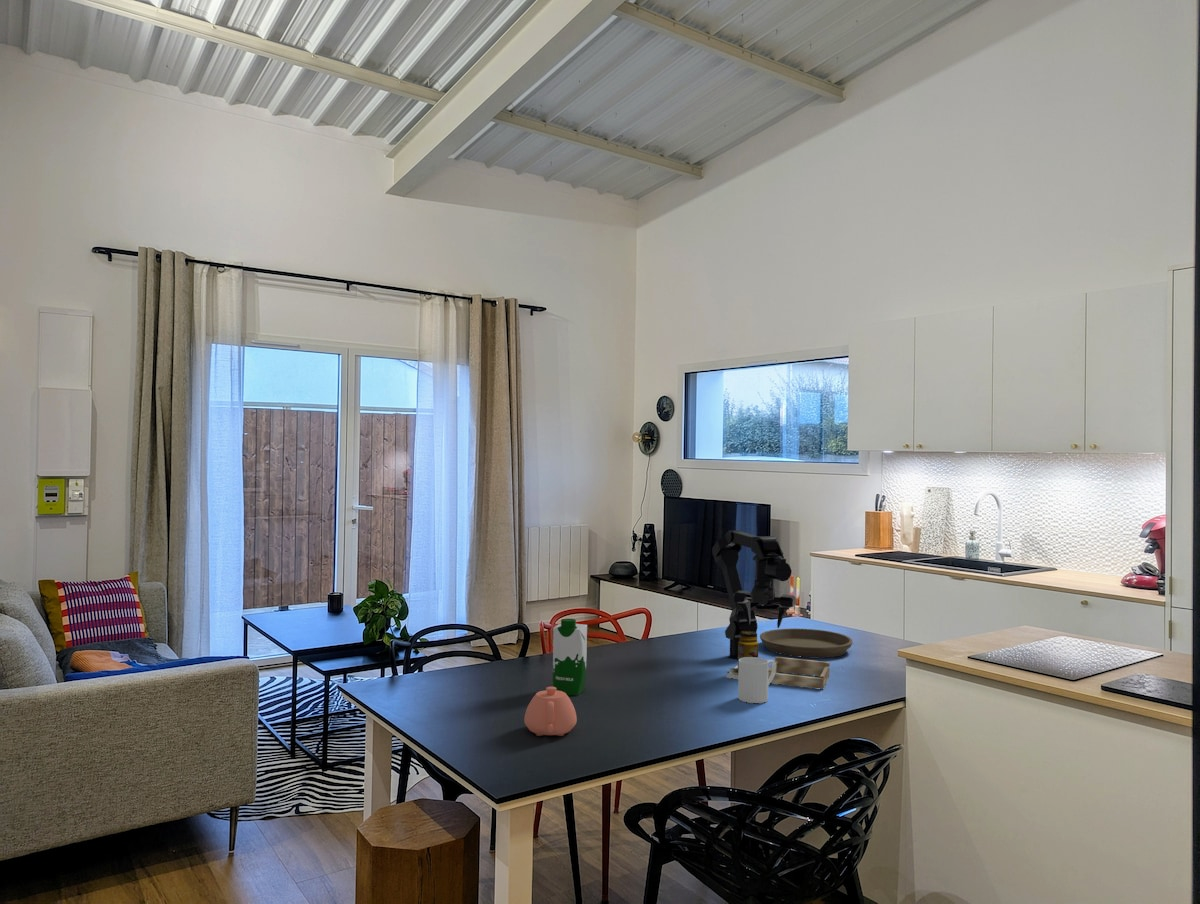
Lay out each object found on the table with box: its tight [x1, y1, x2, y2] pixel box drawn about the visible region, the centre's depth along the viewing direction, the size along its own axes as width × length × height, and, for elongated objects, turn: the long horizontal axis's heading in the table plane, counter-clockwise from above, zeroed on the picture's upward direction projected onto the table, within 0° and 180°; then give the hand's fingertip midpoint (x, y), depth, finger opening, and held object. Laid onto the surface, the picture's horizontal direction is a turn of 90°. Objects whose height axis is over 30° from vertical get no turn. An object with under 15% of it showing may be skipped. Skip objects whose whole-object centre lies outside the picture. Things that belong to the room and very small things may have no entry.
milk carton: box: [552, 618, 588, 697], centre depth 224 cm, size 9×9×20 cm
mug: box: [737, 657, 776, 704], centre depth 220 cm, size 12×8×10 cm, turn 125°
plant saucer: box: [759, 628, 854, 658], centre depth 281 cm, size 31×31×5 cm
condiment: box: [728, 631, 759, 675], centre depth 246 cm, size 7×8×12 cm
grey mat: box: [725, 665, 739, 680], centre depth 246 cm, size 10×14×1 cm
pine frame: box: [768, 656, 831, 690], centre depth 240 cm, size 16×15×4 cm
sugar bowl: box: [523, 686, 578, 737], centre depth 190 cm, size 12×14×10 cm
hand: (763, 626), depth 255 cm, fingers open, 9 cm apart
